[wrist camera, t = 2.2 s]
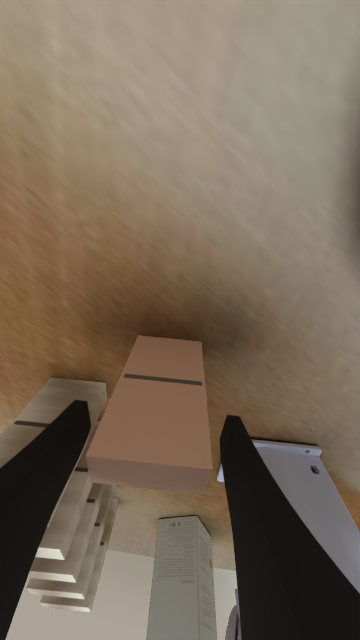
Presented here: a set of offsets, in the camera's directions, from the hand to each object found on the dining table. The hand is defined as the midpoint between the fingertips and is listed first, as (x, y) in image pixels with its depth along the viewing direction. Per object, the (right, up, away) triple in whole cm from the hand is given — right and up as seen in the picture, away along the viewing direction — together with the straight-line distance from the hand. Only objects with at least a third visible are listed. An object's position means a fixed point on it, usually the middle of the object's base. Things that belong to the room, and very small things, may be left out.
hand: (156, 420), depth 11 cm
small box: (+2, -28, +22) cm, 35 cm away
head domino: (0, +3, +6) cm, 7 cm away
